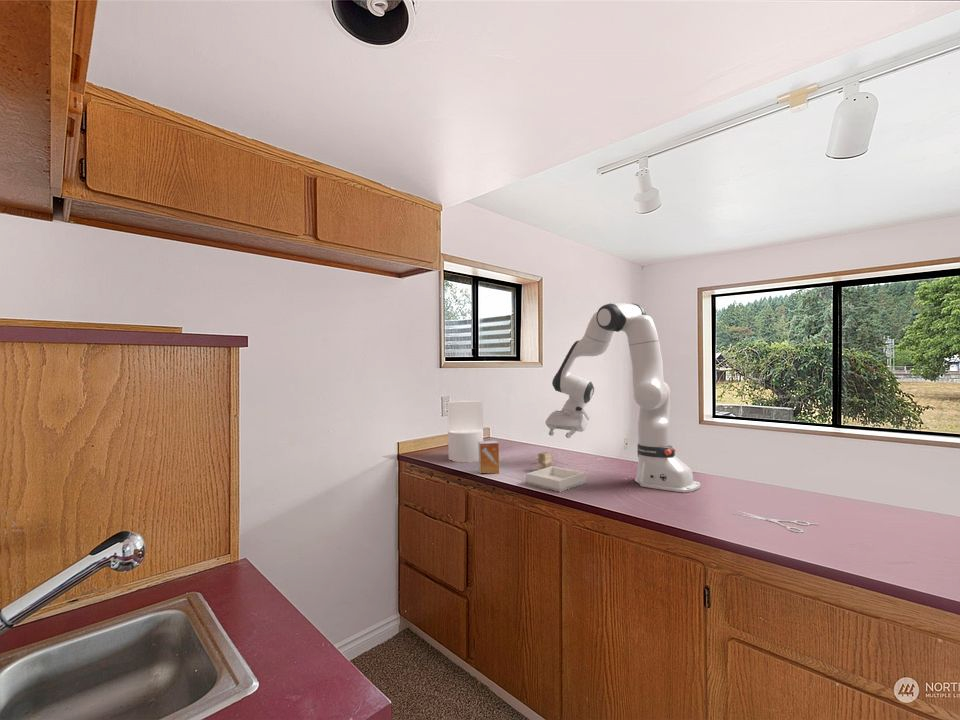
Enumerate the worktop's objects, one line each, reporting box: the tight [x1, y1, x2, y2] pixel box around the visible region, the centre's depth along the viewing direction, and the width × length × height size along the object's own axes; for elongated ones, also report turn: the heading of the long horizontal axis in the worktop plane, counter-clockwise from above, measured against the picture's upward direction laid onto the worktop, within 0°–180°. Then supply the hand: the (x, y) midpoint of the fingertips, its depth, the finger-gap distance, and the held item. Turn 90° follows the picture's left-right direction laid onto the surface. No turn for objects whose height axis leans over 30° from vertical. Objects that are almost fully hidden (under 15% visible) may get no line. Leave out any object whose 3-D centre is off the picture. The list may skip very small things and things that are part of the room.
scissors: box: [735, 510, 819, 534], centre depth 125 cm, size 11×1×20 cm
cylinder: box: [446, 399, 484, 463], centre depth 217 cm, size 17×17×28 cm
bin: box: [525, 465, 587, 493], centre depth 168 cm, size 16×16×4 cm
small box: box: [478, 440, 500, 474], centre depth 189 cm, size 8×6×13 cm
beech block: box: [537, 451, 553, 470], centre depth 189 cm, size 4×4×8 cm
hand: (558, 435), depth 196 cm, fingers open, 8 cm apart
